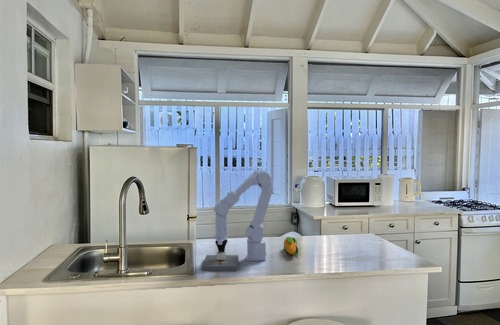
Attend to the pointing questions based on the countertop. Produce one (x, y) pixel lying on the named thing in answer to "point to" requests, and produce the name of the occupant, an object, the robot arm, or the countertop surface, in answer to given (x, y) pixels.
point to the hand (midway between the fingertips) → (221, 255)
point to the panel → (220, 263)
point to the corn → (290, 245)
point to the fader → (221, 255)
